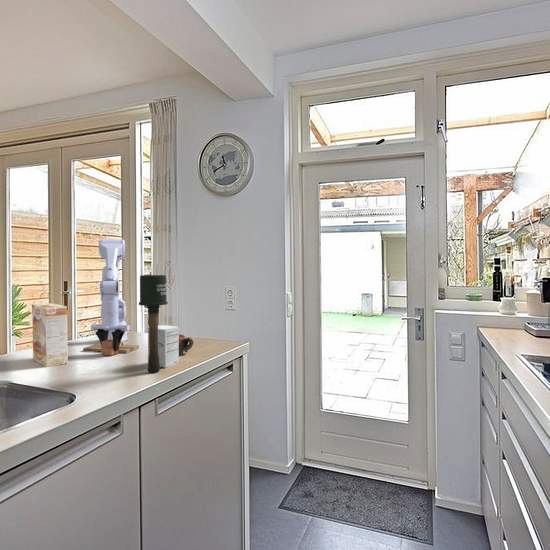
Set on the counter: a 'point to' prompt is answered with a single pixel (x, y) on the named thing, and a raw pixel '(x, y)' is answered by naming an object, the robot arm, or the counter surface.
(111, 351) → the brown block with stick
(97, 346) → the board
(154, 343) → the stick grenade
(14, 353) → the counter surface
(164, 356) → the supplement box
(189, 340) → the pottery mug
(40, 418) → the counter surface
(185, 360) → the counter surface
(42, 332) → the coffeecake box
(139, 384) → the counter surface
